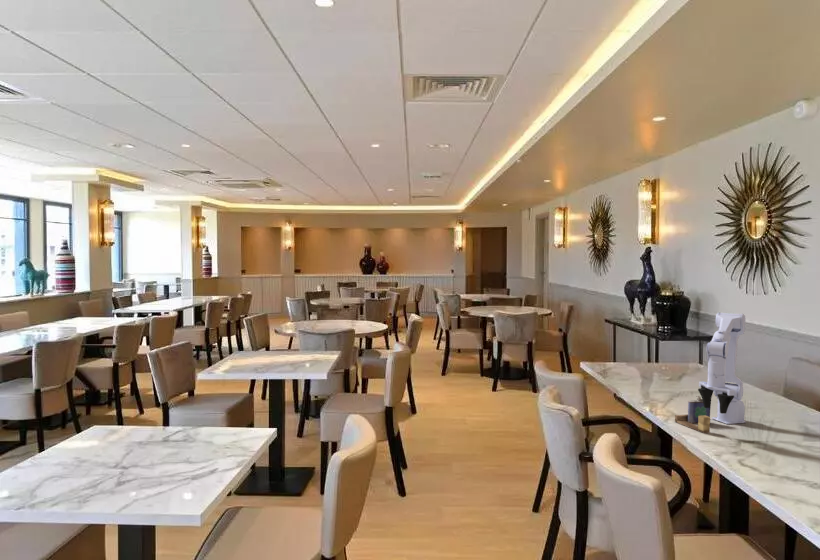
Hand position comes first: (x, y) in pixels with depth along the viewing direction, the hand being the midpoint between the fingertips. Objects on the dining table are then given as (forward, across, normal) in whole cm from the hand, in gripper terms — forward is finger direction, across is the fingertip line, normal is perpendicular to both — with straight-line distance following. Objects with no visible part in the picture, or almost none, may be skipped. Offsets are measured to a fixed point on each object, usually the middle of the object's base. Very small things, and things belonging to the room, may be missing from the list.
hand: (715, 410), depth 208 cm
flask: (+10, -15, +7) cm, 19 cm away
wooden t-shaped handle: (+9, -10, +4) cm, 14 cm away
